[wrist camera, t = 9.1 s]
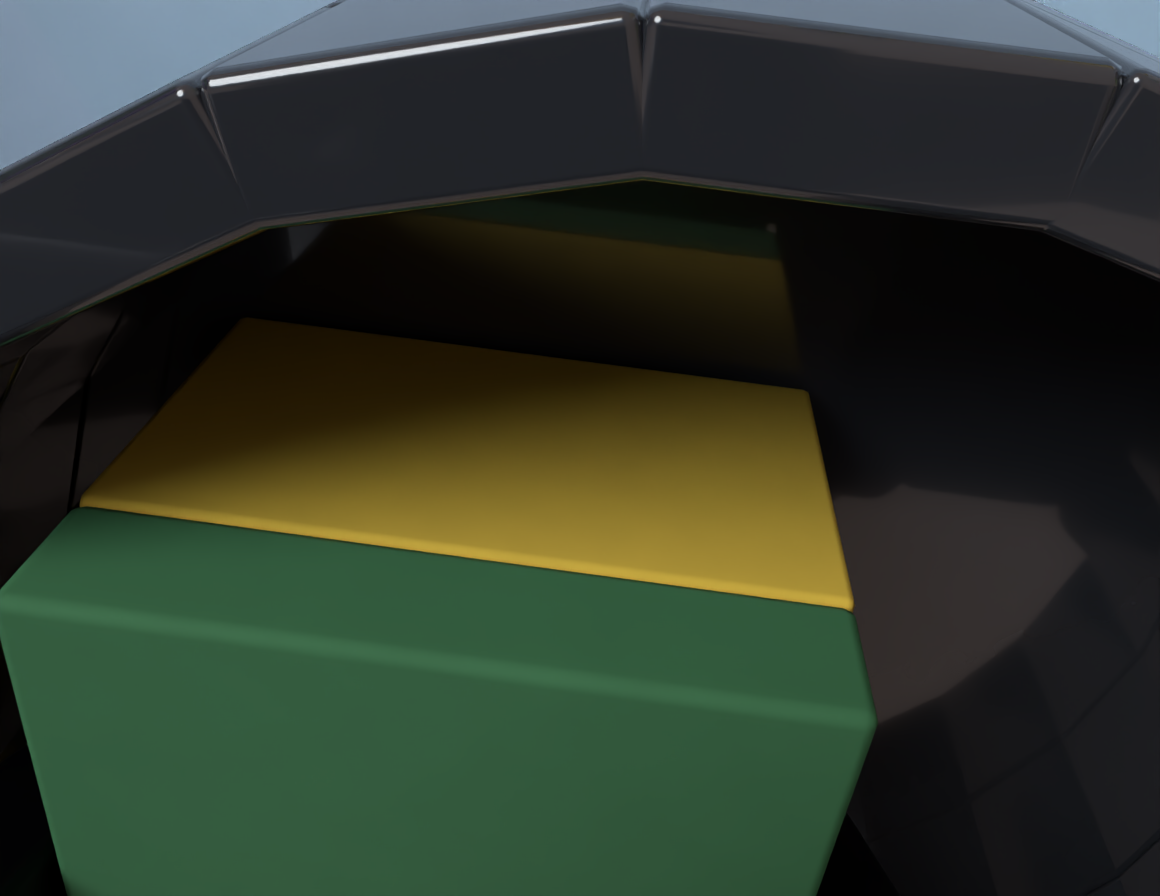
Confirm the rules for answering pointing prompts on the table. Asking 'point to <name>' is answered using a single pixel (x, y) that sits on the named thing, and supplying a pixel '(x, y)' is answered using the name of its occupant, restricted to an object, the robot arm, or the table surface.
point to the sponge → (445, 633)
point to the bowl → (704, 325)
